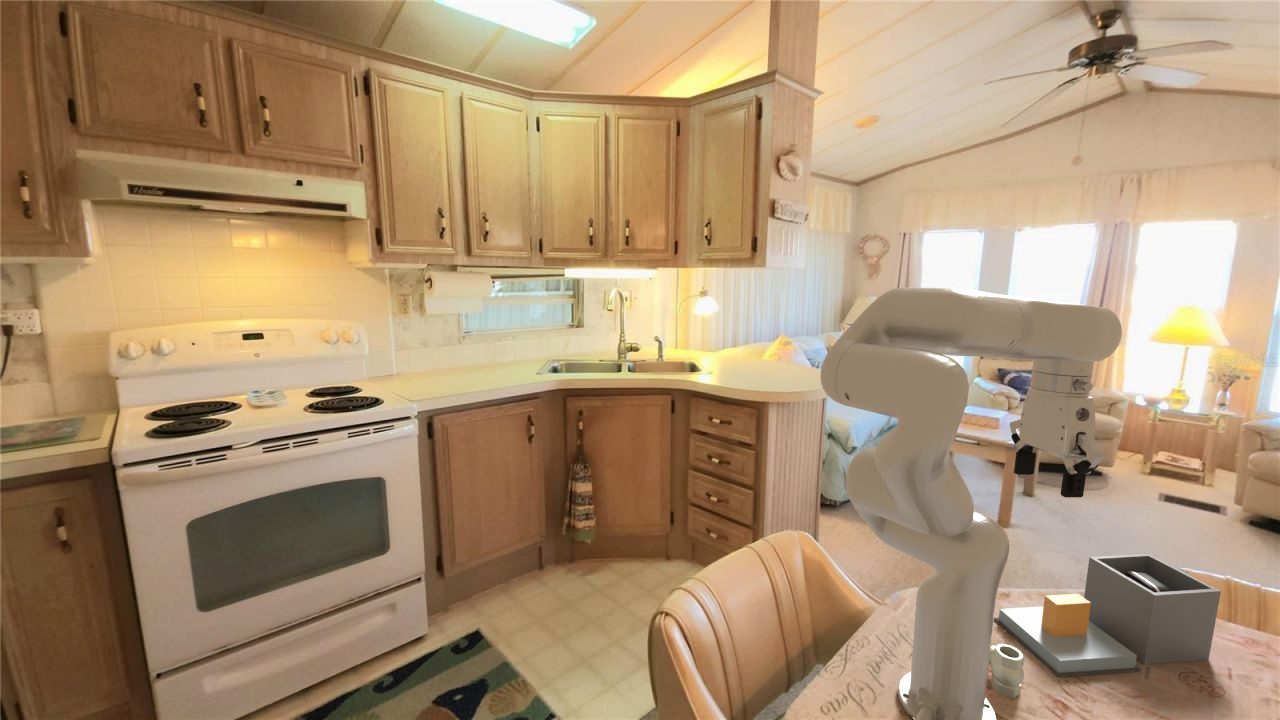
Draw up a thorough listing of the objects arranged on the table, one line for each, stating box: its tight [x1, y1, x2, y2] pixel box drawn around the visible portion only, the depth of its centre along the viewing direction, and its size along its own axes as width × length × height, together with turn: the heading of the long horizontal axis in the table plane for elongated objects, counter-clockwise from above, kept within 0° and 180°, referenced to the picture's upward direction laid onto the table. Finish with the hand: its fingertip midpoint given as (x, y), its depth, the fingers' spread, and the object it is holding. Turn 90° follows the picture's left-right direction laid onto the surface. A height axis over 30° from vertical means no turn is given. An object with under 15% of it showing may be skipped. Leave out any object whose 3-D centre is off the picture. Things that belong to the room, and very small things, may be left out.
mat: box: [993, 617, 1142, 678], centre depth 90 cm, size 14×14×1 cm
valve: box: [989, 643, 1025, 699], centre depth 84 cm, size 7×7×12 cm
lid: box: [998, 593, 1137, 673], centre depth 89 cm, size 13×13×8 cm
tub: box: [1083, 553, 1222, 666], centre depth 90 cm, size 11×11×12 cm
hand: (1046, 484), depth 86 cm, fingers open, 9 cm apart
